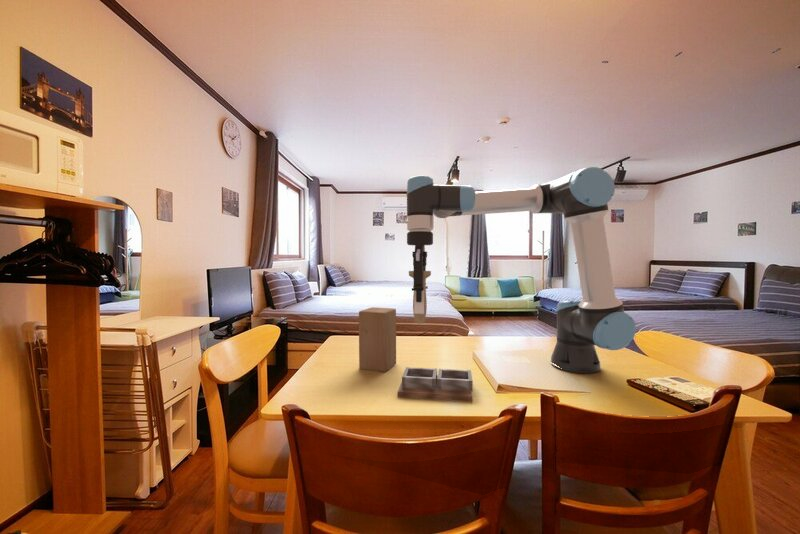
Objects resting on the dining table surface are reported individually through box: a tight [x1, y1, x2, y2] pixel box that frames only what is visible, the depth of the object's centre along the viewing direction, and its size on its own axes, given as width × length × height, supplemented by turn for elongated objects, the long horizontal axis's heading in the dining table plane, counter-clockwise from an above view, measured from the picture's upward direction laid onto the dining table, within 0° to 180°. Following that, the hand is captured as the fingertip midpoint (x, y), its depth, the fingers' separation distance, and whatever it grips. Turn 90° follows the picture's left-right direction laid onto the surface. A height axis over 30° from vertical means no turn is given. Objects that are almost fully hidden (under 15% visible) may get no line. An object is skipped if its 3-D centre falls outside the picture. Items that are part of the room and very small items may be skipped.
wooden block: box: [358, 307, 397, 373], centre depth 115 cm, size 10×10×20 cm
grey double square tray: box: [397, 366, 474, 403], centre depth 95 cm, size 20×14×4 cm
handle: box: [408, 270, 432, 324], centre depth 95 cm, size 5×6×15 cm
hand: (419, 311), depth 95 cm, fingers closed on handle, 4 cm apart
